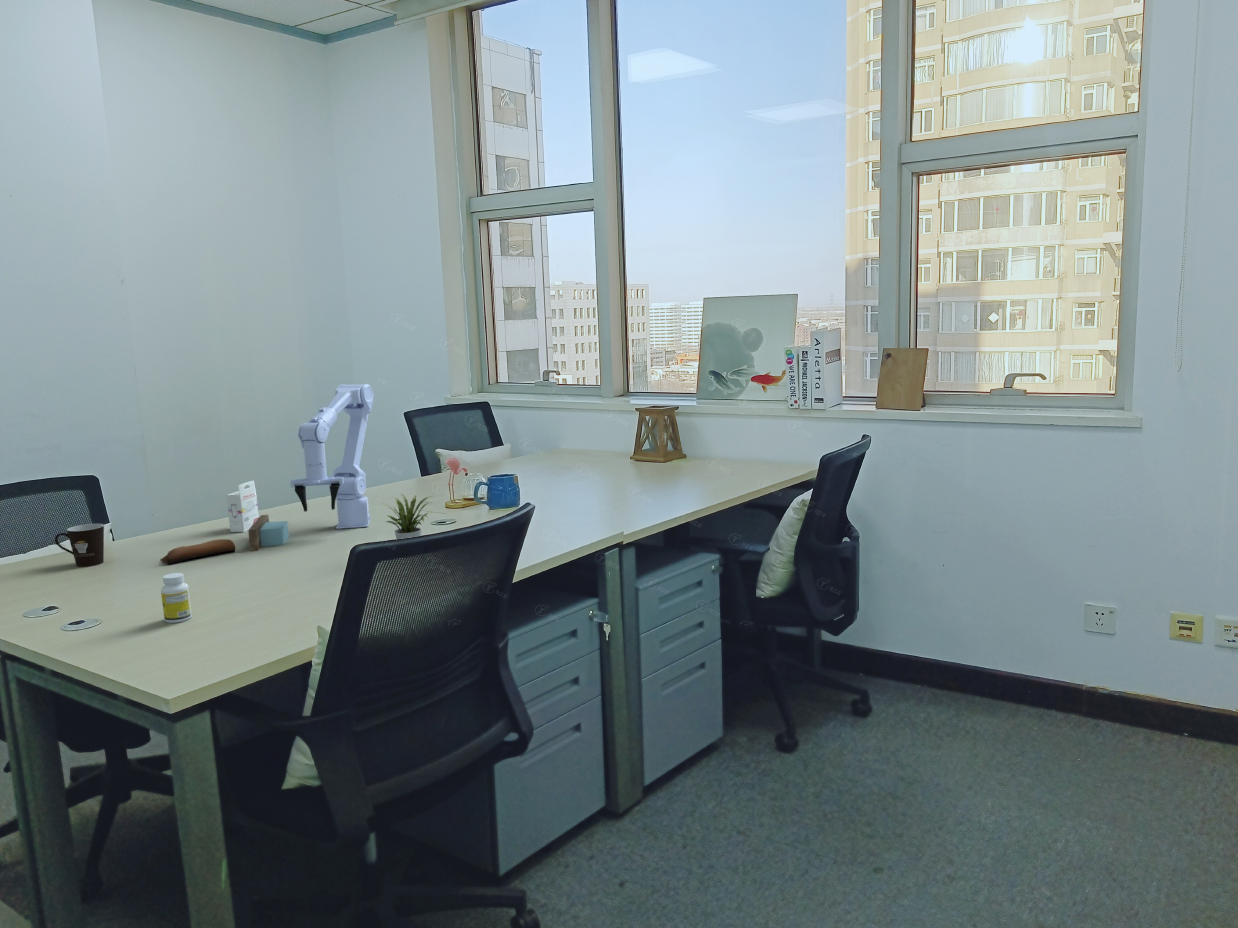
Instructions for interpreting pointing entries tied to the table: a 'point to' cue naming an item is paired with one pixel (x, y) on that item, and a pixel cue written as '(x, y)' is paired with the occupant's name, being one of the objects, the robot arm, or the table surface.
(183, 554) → the sweet potato
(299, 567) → the table surface
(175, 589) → the supplement bottle
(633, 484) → the table surface
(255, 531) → the walnut board
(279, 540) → the teal block
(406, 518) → the house plant
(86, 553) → the coffee mug
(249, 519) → the ink cartridge box
